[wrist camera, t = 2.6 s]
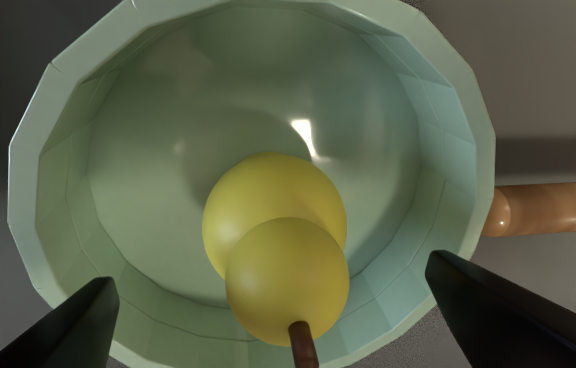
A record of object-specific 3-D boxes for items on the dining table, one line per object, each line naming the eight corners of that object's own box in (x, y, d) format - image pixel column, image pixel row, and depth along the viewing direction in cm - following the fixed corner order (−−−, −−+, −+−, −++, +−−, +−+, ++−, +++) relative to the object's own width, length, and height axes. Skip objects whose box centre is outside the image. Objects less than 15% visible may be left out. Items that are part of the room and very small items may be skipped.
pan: (394, 295, 19) (435, 363, 15) (117, 323, 16) (83, 412, 13) (466, -3, 12) (571, -15, 8) (18, -29, 10) (-113, -63, 6)
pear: (320, 235, 15) (402, 428, 8) (211, 243, 14) (192, 464, 7) (329, 133, 13) (456, 268, 6) (201, 135, 12) (161, 295, 5)
